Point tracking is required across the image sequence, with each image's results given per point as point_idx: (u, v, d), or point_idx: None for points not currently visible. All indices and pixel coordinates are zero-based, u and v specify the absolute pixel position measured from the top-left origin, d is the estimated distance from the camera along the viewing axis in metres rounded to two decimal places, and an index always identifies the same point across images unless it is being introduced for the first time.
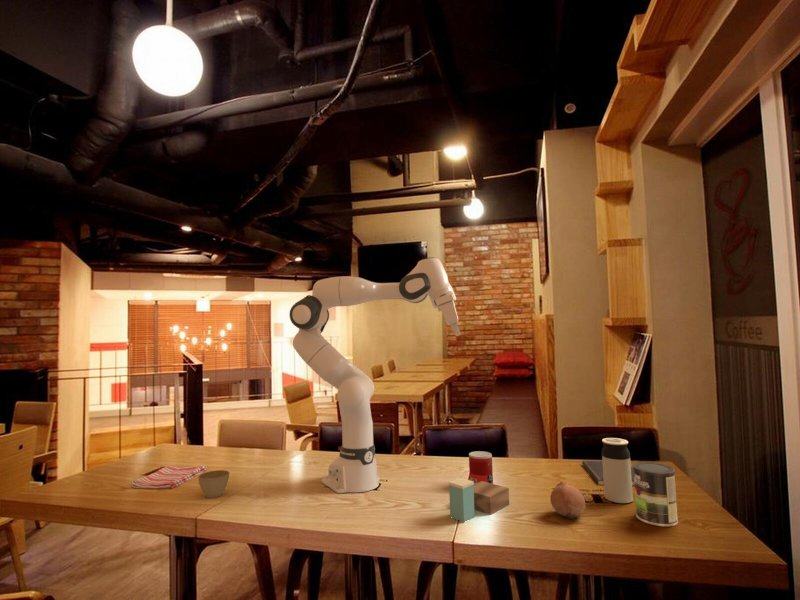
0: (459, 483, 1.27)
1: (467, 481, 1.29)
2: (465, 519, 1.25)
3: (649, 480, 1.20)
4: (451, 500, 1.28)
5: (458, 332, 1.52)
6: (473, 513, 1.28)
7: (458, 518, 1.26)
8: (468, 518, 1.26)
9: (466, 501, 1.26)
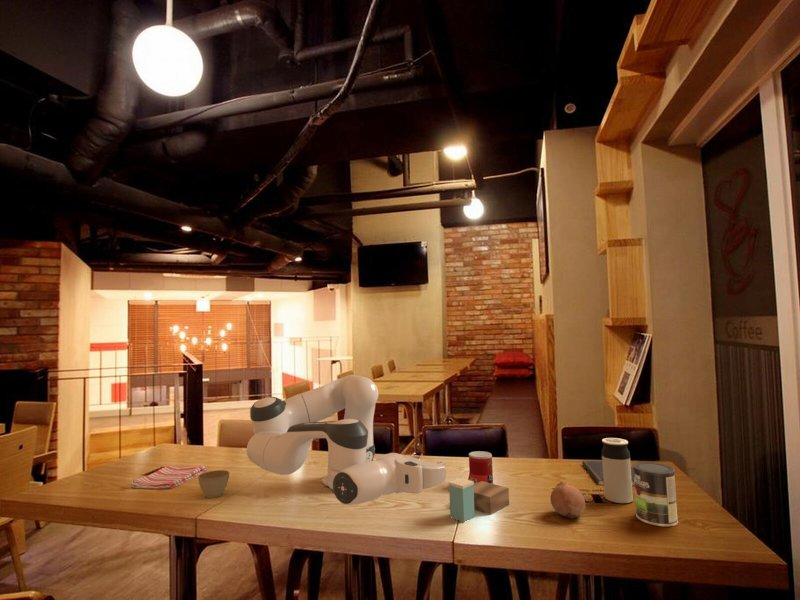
0: (459, 483, 1.27)
1: (467, 481, 1.29)
2: (465, 519, 1.25)
3: (649, 480, 1.20)
4: (451, 500, 1.28)
5: (443, 465, 1.16)
6: (473, 513, 1.28)
7: (458, 518, 1.26)
8: (468, 518, 1.26)
9: (466, 501, 1.26)
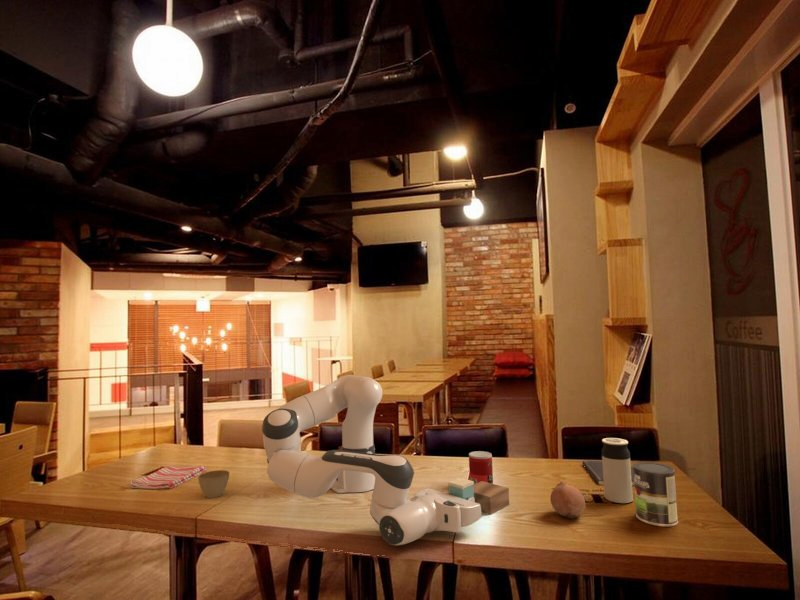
0: (459, 483, 1.27)
1: (467, 481, 1.29)
2: None
3: (649, 480, 1.20)
4: None
5: (472, 499, 1.25)
6: None
7: None
8: None
9: None
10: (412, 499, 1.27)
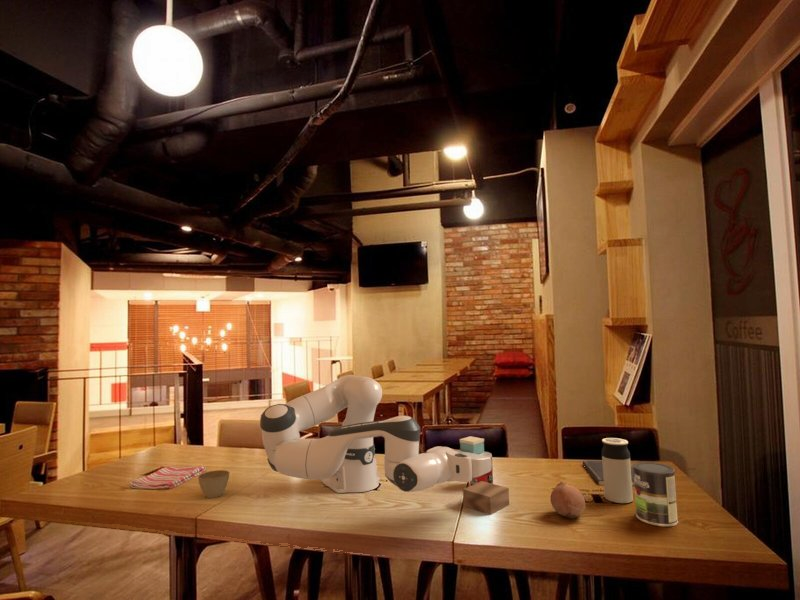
0: (469, 440, 1.31)
1: (477, 438, 1.33)
2: None
3: (649, 480, 1.20)
4: None
5: (482, 455, 1.29)
6: None
7: None
8: None
9: None
10: None
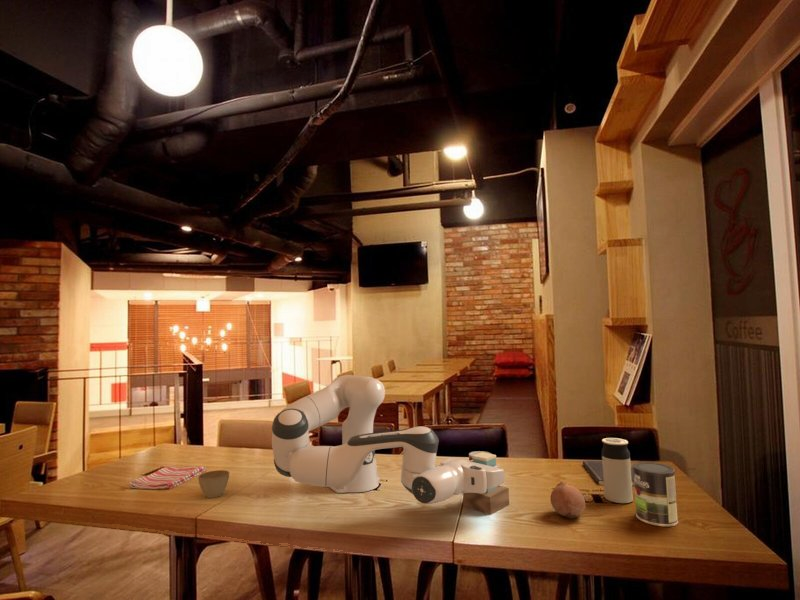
0: (482, 456, 1.36)
1: (490, 455, 1.37)
2: (489, 489, 1.33)
3: (649, 480, 1.20)
4: None
5: (497, 467, 1.34)
6: None
7: None
8: (491, 489, 1.34)
9: None
10: None
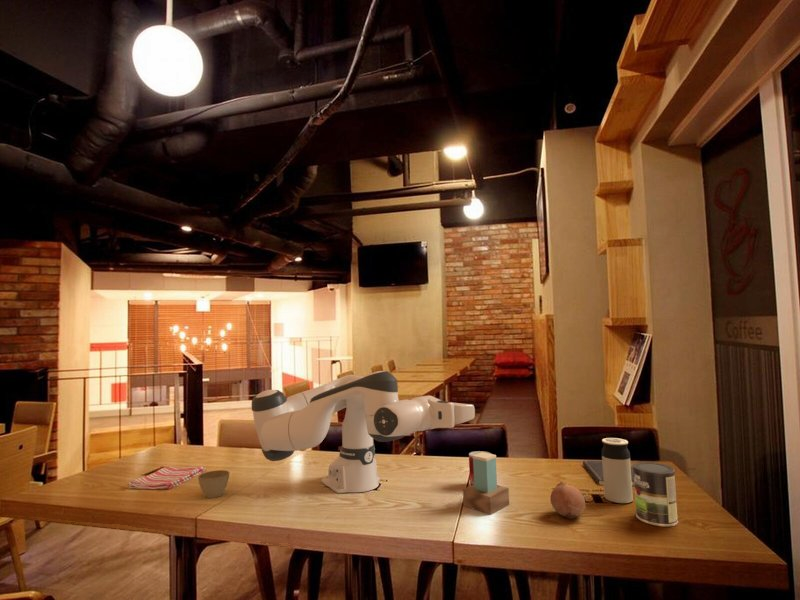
0: (482, 456, 1.36)
1: (490, 455, 1.37)
2: (489, 489, 1.33)
3: (649, 480, 1.20)
4: (475, 472, 1.36)
5: None
6: (496, 484, 1.36)
7: (482, 489, 1.34)
8: (491, 489, 1.34)
9: (489, 473, 1.34)
10: None
